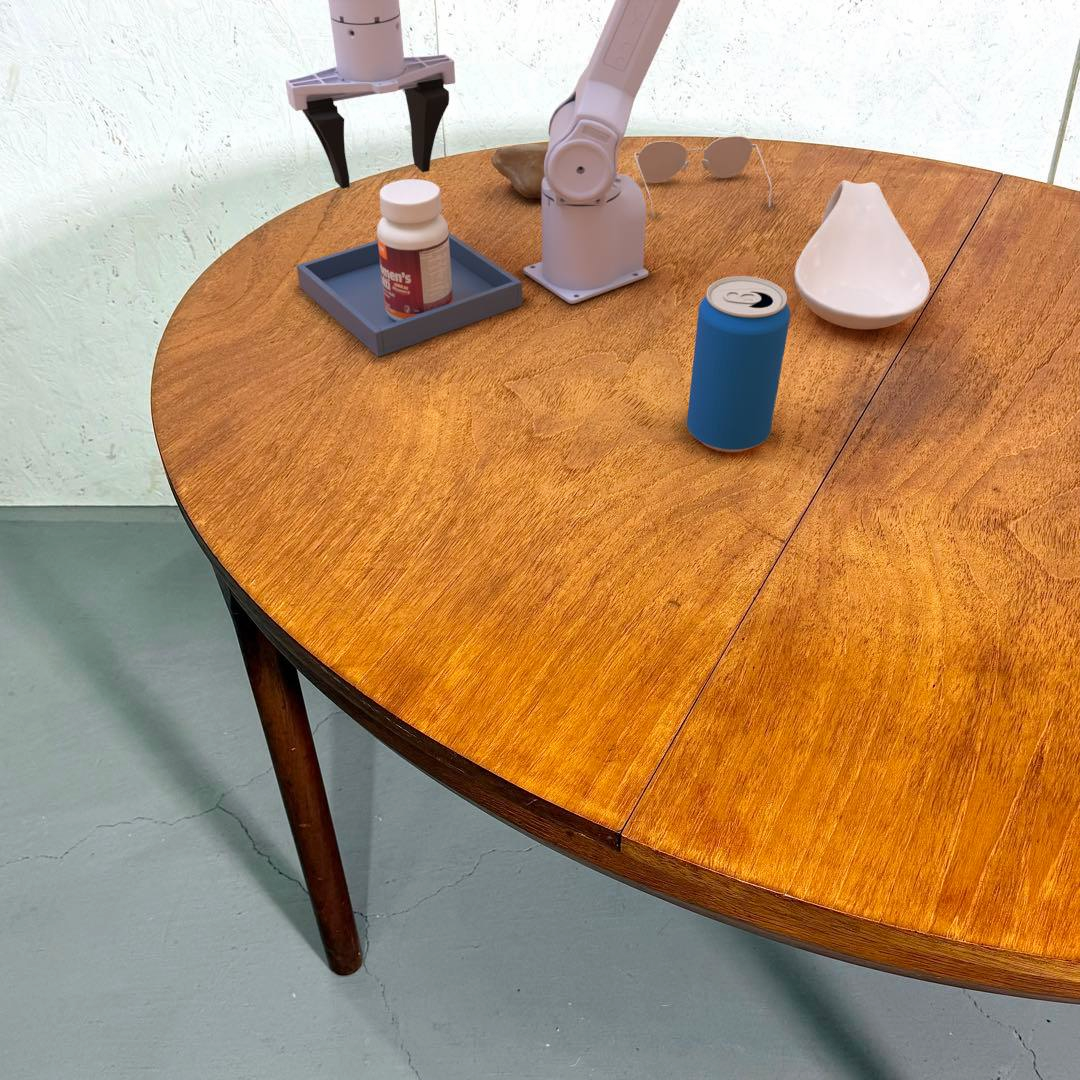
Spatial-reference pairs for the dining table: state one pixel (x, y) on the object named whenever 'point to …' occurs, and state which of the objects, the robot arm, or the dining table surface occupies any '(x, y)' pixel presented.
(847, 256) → the spoon rest
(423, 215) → the pill bottle
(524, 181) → the fossil
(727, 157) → the sunglasses
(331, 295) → the slate tray
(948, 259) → the dining table surface
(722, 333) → the beverage can
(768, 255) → the dining table surface
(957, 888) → the dining table surface
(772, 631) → the dining table surface
